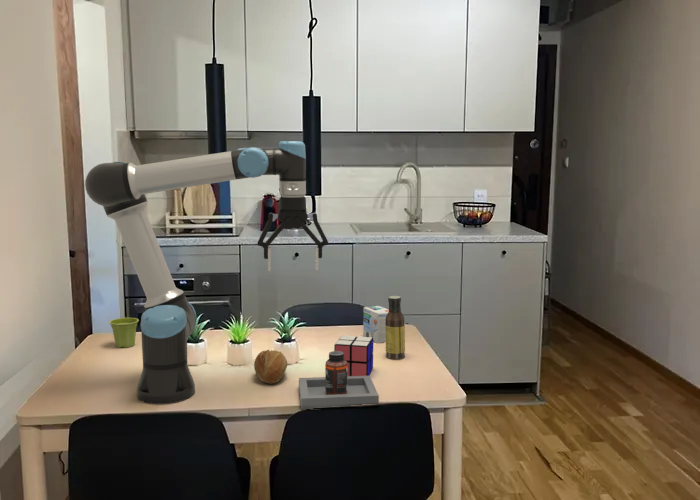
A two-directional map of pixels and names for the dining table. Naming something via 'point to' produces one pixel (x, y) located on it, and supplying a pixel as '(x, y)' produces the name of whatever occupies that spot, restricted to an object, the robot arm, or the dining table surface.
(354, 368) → the puzzle cube
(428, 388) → the dining table surface
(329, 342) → the dining table surface
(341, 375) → the supplement bottle
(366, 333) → the light bulb box
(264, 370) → the bread roll
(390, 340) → the sauce bottle
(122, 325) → the plant pot
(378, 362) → the dining table surface
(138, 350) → the dining table surface
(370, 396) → the tray
